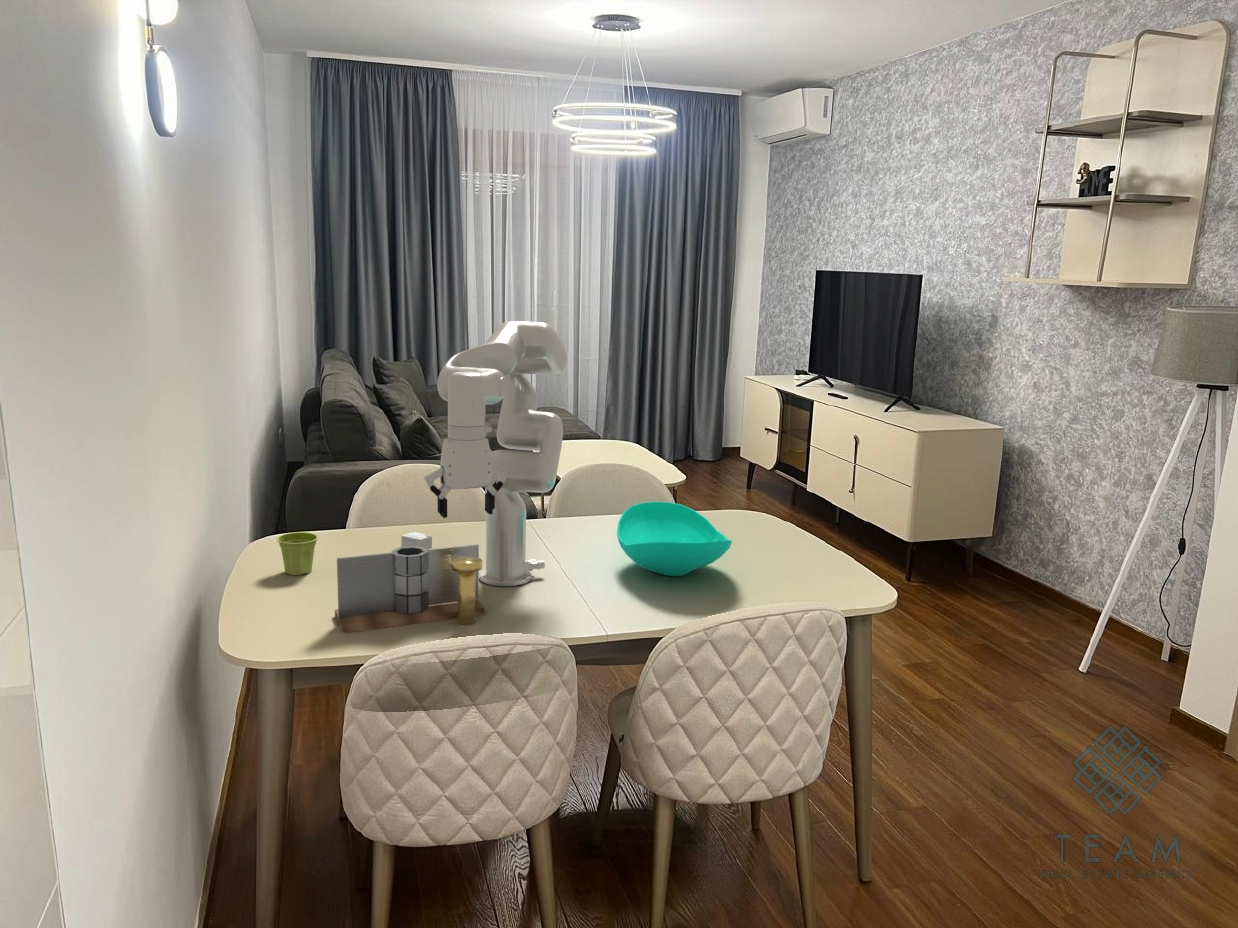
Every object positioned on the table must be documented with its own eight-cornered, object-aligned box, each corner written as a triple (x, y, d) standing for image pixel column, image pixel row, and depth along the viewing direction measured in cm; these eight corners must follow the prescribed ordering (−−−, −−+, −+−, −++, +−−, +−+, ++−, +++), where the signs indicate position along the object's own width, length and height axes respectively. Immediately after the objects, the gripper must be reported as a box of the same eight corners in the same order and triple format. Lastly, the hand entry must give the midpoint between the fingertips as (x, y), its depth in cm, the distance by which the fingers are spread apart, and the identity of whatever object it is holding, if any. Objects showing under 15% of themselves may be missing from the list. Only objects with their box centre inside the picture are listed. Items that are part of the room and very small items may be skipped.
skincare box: (399, 584, 221) (399, 535, 219) (412, 579, 225) (412, 530, 223) (420, 589, 218) (419, 539, 216) (432, 584, 222) (432, 535, 220)
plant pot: (323, 566, 233) (322, 532, 231) (312, 578, 224) (311, 543, 222) (285, 565, 233) (284, 531, 231) (273, 577, 223) (271, 542, 222)
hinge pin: (476, 614, 204) (476, 555, 201) (485, 625, 198) (486, 563, 196) (447, 618, 201) (447, 558, 199) (456, 629, 196) (456, 567, 193)
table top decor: (750, 595, 222) (754, 541, 220) (636, 600, 216) (638, 545, 213) (700, 546, 260) (703, 500, 257) (602, 550, 254) (603, 502, 251)
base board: (471, 599, 213) (471, 592, 213) (484, 614, 205) (484, 607, 204) (334, 616, 200) (334, 609, 200) (343, 632, 192) (343, 625, 191)
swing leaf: (397, 614, 197) (396, 557, 195) (390, 603, 204) (389, 548, 201) (482, 603, 206) (483, 549, 203) (473, 593, 212) (473, 540, 209)
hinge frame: (422, 601, 207) (422, 545, 204) (431, 612, 201) (431, 554, 198) (335, 611, 199) (334, 553, 196) (341, 623, 193) (340, 563, 190)
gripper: (501, 428, 199) (500, 507, 202) (419, 431, 191) (420, 513, 194) (513, 434, 192) (512, 515, 195) (429, 437, 185) (429, 522, 188)
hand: (466, 514), depth 195 cm, fingers open, 9 cm apart
